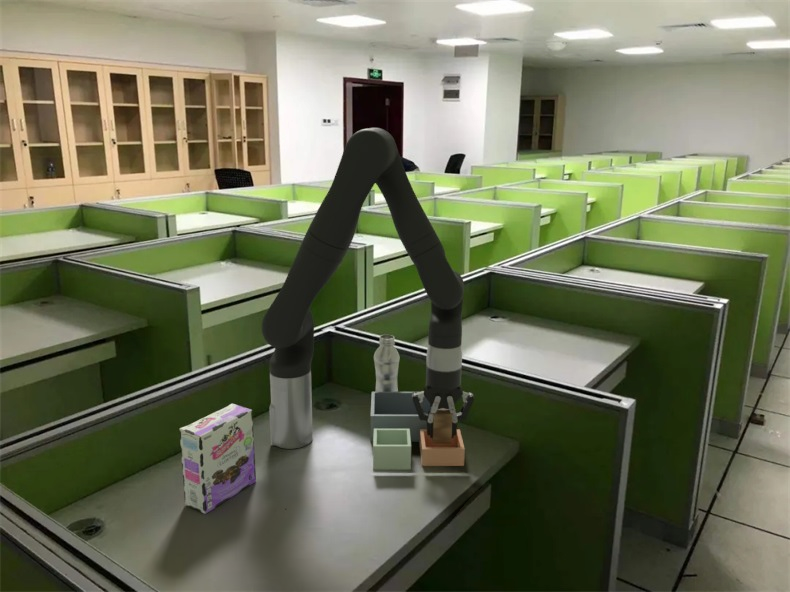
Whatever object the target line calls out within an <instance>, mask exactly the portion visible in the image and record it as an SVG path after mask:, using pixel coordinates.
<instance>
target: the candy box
mask: <svg viewBox="0 0 790 592" xmlns="http://www.w3.org/2000/svg"><path fill="white" fill-rule="evenodd" d="M253 419H254V417H253V409H251V408H247V407H245V406H242V405H240V404H239V405H238V404H235V403H230V404H229V405H227V406H225V407H223V408H221V409H219V410H216V411H214V412H212V413H210V414H208V415H207V416H204V417H202V418H199V419H198V420H196V421H194V422H192V423H189V424H188V425H185V426H182V427H180V428H179V431H178V432H179V442H180V455H181V457H180V458H181V466H182V467H181V469H182V479H183V480H182V482H183V496H184V498H183V499H184V505H185V506H188V507H190V508H192V509H194V510H196V511H198V512H200V513H203V514H204V515H206V514H208V513H209V512H211V511H213V510H214V509H216V508H217V507H218V506H219V505H222V504H223V503H225V502H226V501H228V500H230V499H231V498H232V497H234V496H235V495H237V494H239V493H240V492H242V491H243V490H245V489H246V488H248V487H250V486H251V485H253V484H254V483H256V482H257V473H256V457H255V455H256V454H255V438H254V421H253Z"/></svg>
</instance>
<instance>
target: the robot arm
mask: <svg viewBox="0 0 790 592" xmlns="http://www.w3.org/2000/svg"><path fill="white" fill-rule="evenodd" d="M374 185H376V186H377V188H378V189H379V190H380V192H381V194H382V196H383V198H384V200H385V202H386V204H387V207H388V210H389V213H390V215H391V219H392V222H393V225H394V228H395V231H396V233H397V236H398V237H399V240H400V242H401V243H402V245H403V248H404V249H405V252H406V253H407V255H408V256H409V258H410V260H411V262H412V263H413V265H414V266H415V269H416V271H417V274H418V276H419V279H420V281H421V284H422V286H423V288H424V291H425V293H426V295H427V297H428V298H429V300H430V302H431V303H430V311H431V312H430V318H429V322H428V323H429V324H428V334H427V335H428V339H427V341H428V342H427V350H426V358H425V361H426V362H425V363H426V367H425V368H426V369H425V371H426V373H425V386H424V388H423V390H422V391H412V392H413V393H412V399H413V402H414V405H415V408H416V410H417V413H418V416H419V419H420V420H425V421H426V422H427V435H428V436H430V438H433V416H434V414H436V412H437V409H441V408H445V409H449V410H450V414H452V438H454V436H456V434H457V429H458V422H460V421H463V422H464V421H466V420H467V418H468V415H469V413H470V410H471V408H472V406H473V404H474V401H475V397H474V394H473V392H471V391H469V392H466V391H464V390H463V388H462V367H463V366H462V364H463V363H462V362H463V351H462V338H463V337H462V336H463V327H462V325H463V324H462V323H463V322H462V316H463V315H462V314H463V304H464V303H463V302H464V293H465V283H464V280H463V277H462V276H461V274H460V273H459V272H458V271H456V270H454V269H453V268H452V267H451V265H450V263H449V261H448V260H447V256H446V252H445V249H444V246H443V244H442V242H441V240H440V237H439V236H438V234H437V232H436V230H435V228H434V227H433V224H432V223H431V221H430V220H429V218H428V216H427V214H426V212H425V210H424V208H423V207H422V205H421V203H420V200H419V199H418V197H417V195H416V192H415V191H414V189H413V187H412V184H411V182H410V179H409V178H408V175H407V173H406V169H405V167H404V164H403V162H402V158H401V155H400V152H399V149H398V147H397V144H396V141H395V139H394V137H393V135H392V134H391V133H389V132H388V131H386V130H385V129H383V128H380V127H369V128H368V127H367V128H362V129H360V130H358V131H356V132H355V133H353V134H352V135H351V136H350V137H349V139H348V140H347V142H346V144H345V147H344V150H343V152H342V156H341V158H340V162H339V164H338V166H337V170H336V172H335V175H334V178H333V180H332V183H331V186H330V188H329V190H328V192H327V193H326V195H325V197H324V198H323V200H322V201H321V204H320V206H319V207H318V209H317V211H316V213H315V215H314V216H313V219H312V220H311V223H310V224H309V227H308V229H307V230H306V233H305V235H304V237H303V239H302V241H301V244H300V246H299V248H298V251H297V252H296V255H295V257H294V260H293V262H292V264H291V265H290V269H289V271H288V273H287V276H286V278H285V281H284V282H283V284H282V286H281V288H280V290H279V292H278V293H277V295H276V296H275V298H274V300H273V301H272V303H271V304H270V306H269V308H268V309H267V310H266V313H265V314H264V316H263V319H262V321H261V331H262V332H261V333H262V336H263V338H264V340H265V342H266V343H267V344H268V345H269V346H271V347H273V348H275V349H274V351H273V353H272V355H271V357H270V359H269V381H270V382H269V384H270V404H269V408H268V409H269V410H268V411H269V430H270V432H269V433H270V446H274V447H275V446H276V447H277V448H278V447H279V448H281V449H288V450H290V449H291V450H292V449H293V450H294V449H299V448H303V447H306V446H308V445H309V444H311V442H312V441H313V433H314V431H313V407H312V406H313V403H312V397H313V396H312V370H311V369H312V362H313V361H312V360H313V357H314V353H315V352H314V347H315V346H314V345H315V323H314V315H313V313H312V311H311V309H310V307H311V306H312V304H313V302H314V300H315V299H316V297H317V296H318V295H319V293H320V292H321V291H322V289H323V288H324V287H325V286H326V284H327V283H328V282H329V281H330V279H331V278H332V277H333V275H335V273H336V271H337V270H338V269H339V267H340V265H341V263H342V262H343V260H344V258H345V256H346V254H347V252H348V251H349V250H348V249H349V248H350V246H351V244H352V241H353V240H354V236H355V233H356V230H357V225H358V222H359V220H360V219H359V217H360V214H361V211H362V208H363V205H364V203H365V201H366V199H367V197H368V196H369V194H370V192H371V191H372V190H373V187H374ZM417 392H418V393H417ZM424 396H425V397H426V399H427V400H428V401H429V403H430V405H429V410H428V413H425V412H424V410H423V408H422V405H421V402H423V397H424ZM461 398H462V402H463V403H462V405H461V408H460V411H459V412H456V408H455V407H456V406H455V405H456V404H457V403H458V402H459V400H460V399H461Z"/></svg>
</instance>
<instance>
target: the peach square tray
mask: <svg viewBox="0 0 790 592" xmlns="http://www.w3.org/2000/svg"><path fill="white" fill-rule="evenodd" d="M465 449H466V448H465V445H464V441H463V436H462V433H461V429H458V428H457V434H456V436H454V438H452V439H451V444H433V441H432V438H430V436H428V435H427V429H420V442H419V452H420V453H419V454H420V461H421V467H464V466H465V451H466V450H465Z"/></svg>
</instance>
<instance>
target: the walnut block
mask: <svg viewBox="0 0 790 592" xmlns="http://www.w3.org/2000/svg"><path fill="white" fill-rule="evenodd" d="M451 439H452V414H450V410H449V409H445V408H441V409H437V412H436V414H434V416H433V438H432V441H433V444H451Z"/></svg>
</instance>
